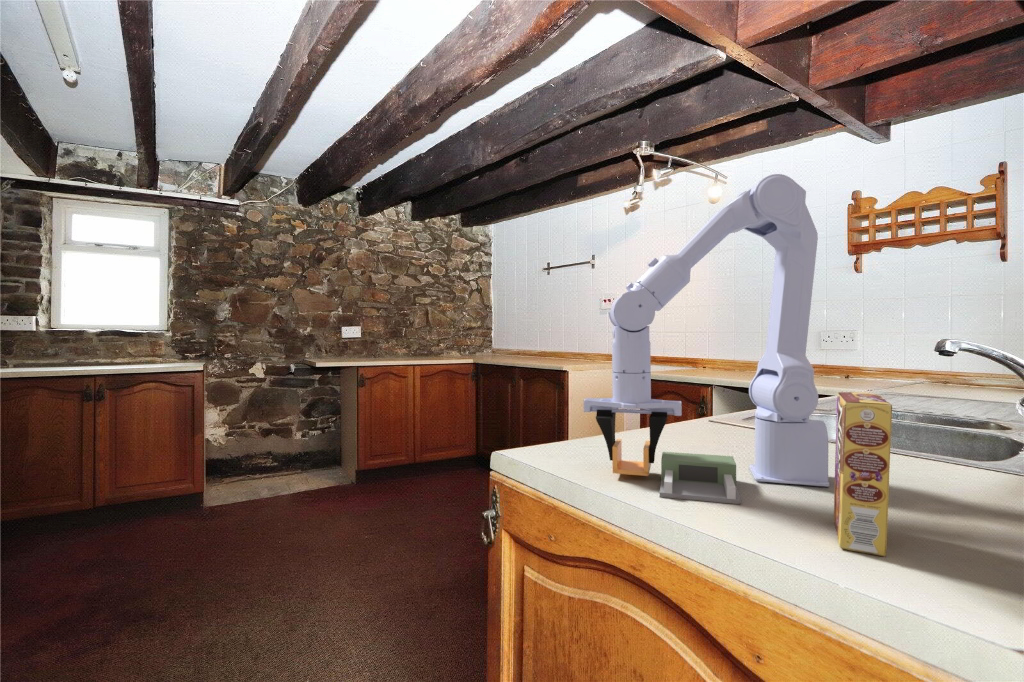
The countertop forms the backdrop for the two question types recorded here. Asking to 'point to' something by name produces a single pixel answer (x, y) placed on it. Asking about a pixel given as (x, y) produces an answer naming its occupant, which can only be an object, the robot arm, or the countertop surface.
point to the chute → (630, 466)
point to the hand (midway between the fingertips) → (632, 460)
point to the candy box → (862, 472)
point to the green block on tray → (699, 477)
